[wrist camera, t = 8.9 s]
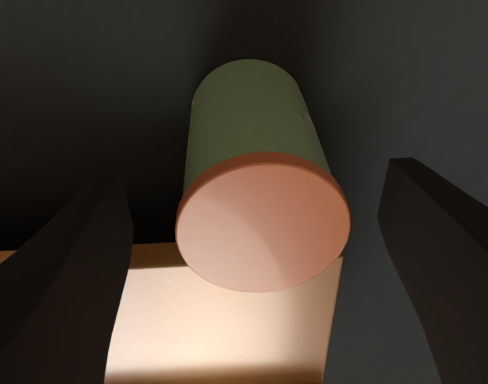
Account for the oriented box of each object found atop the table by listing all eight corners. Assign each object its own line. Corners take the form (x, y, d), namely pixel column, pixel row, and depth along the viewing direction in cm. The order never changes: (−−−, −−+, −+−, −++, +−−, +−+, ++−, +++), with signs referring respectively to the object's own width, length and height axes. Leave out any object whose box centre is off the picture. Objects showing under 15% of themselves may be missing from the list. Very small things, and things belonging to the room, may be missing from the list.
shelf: (321, 186, 18) (353, 283, 14) (307, 319, 23) (326, 417, 19) (-97, 207, 17) (-194, 313, 13) (-12, 338, 23) (-62, 442, 19)
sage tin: (316, 145, 17) (361, 272, 12) (210, 174, 17) (209, 307, 12) (292, 38, 14) (337, 140, 9) (169, 76, 15) (145, 192, 10)
